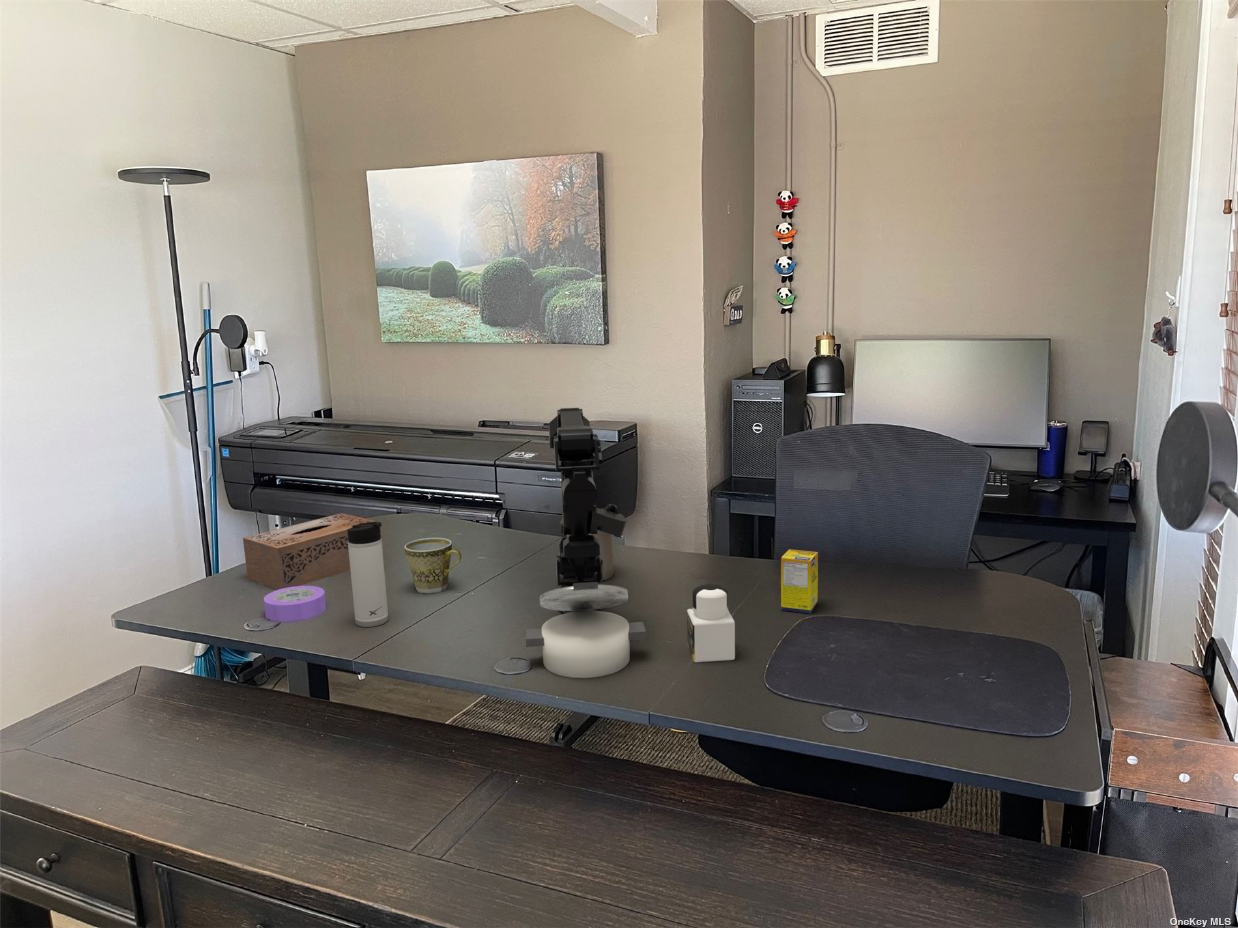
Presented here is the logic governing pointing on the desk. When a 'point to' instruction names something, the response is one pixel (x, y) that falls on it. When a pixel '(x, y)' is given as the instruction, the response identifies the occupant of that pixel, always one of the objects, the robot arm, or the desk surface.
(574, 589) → the cooker lid
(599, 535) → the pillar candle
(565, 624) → the cooker body
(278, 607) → the masking tape
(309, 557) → the tissue box cover
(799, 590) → the supplement box
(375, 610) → the travel mug
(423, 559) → the ceramic cup
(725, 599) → the medicine bottle
